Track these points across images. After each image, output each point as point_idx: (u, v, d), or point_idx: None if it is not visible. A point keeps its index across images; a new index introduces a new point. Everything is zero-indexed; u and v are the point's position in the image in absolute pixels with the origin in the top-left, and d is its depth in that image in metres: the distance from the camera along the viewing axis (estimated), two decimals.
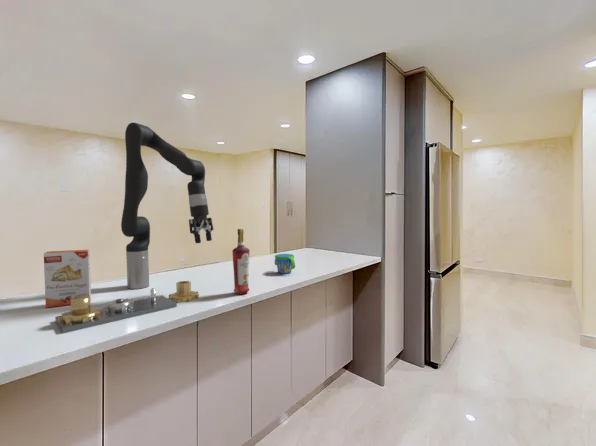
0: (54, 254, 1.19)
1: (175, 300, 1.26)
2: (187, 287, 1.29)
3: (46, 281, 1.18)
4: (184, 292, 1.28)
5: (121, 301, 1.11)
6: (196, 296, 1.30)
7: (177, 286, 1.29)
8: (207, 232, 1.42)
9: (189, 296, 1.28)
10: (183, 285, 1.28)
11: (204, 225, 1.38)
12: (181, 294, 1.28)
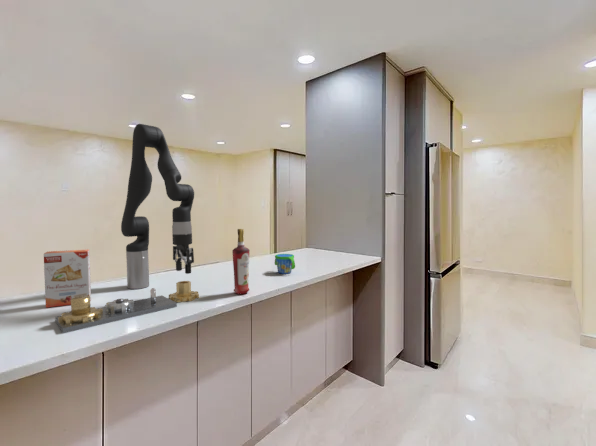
0: (54, 254, 1.19)
1: (175, 300, 1.26)
2: (187, 287, 1.29)
3: (46, 281, 1.18)
4: (184, 292, 1.28)
5: (121, 301, 1.11)
6: (196, 296, 1.30)
7: (177, 286, 1.29)
8: (178, 261, 1.33)
9: (189, 296, 1.28)
10: (183, 285, 1.28)
11: None
12: (181, 294, 1.28)
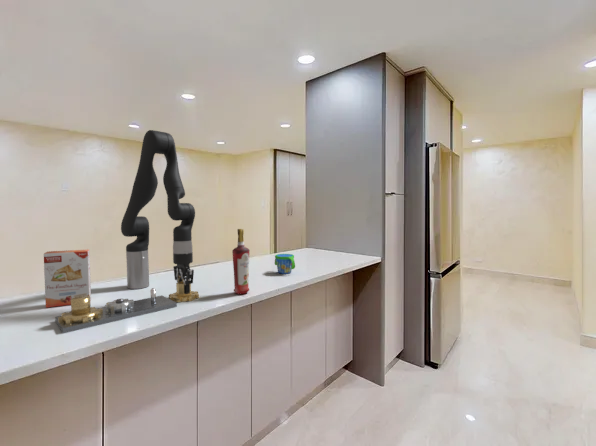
0: (54, 254, 1.19)
1: (175, 300, 1.26)
2: None
3: (46, 281, 1.18)
4: None
5: (121, 301, 1.11)
6: (196, 296, 1.30)
7: (177, 286, 1.29)
8: None
9: (189, 296, 1.28)
10: (183, 285, 1.28)
11: None
12: (181, 294, 1.28)
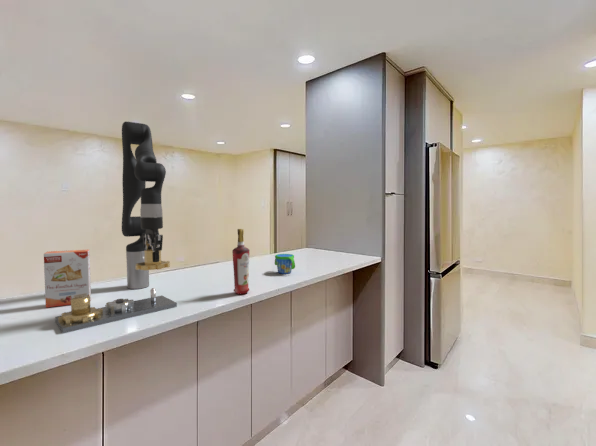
0: (54, 254, 1.19)
1: (142, 268, 1.15)
2: None
3: (46, 281, 1.18)
4: None
5: (121, 301, 1.11)
6: (166, 265, 1.19)
7: (145, 254, 1.17)
8: None
9: (158, 264, 1.16)
10: (151, 252, 1.17)
11: None
12: (149, 262, 1.17)
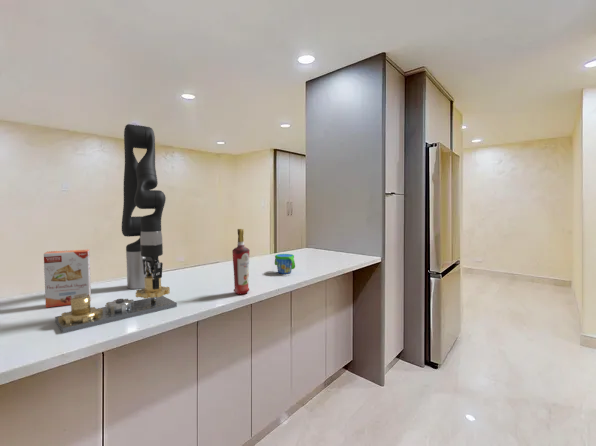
0: (54, 254, 1.19)
1: (142, 296, 1.15)
2: None
3: (46, 281, 1.18)
4: None
5: (121, 301, 1.11)
6: (166, 292, 1.19)
7: (145, 281, 1.18)
8: None
9: (158, 292, 1.17)
10: (151, 280, 1.17)
11: None
12: (149, 289, 1.17)
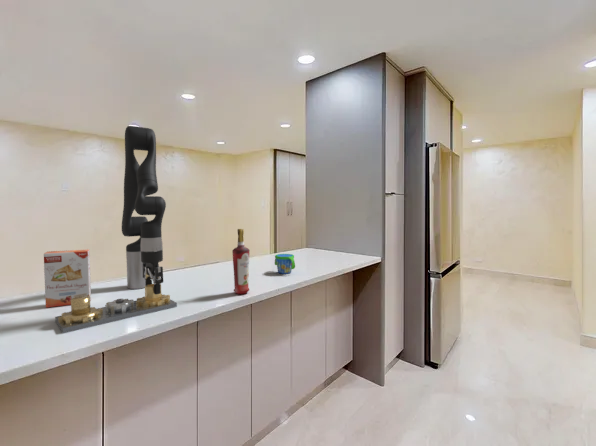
0: (54, 254, 1.19)
1: (142, 305, 1.15)
2: None
3: (46, 281, 1.18)
4: (153, 296, 1.18)
5: (121, 301, 1.11)
6: (166, 300, 1.19)
7: (145, 289, 1.18)
8: (148, 280, 1.22)
9: (158, 300, 1.17)
10: (152, 288, 1.17)
11: None
12: (150, 298, 1.17)
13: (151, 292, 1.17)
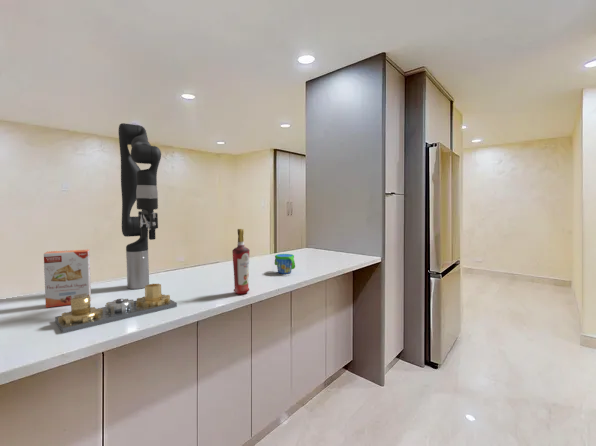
0: (54, 254, 1.19)
1: (142, 305, 1.15)
2: (156, 290, 1.18)
3: (46, 281, 1.18)
4: (153, 296, 1.18)
5: (121, 301, 1.11)
6: (166, 300, 1.19)
7: (145, 289, 1.18)
8: (143, 227, 1.27)
9: (158, 300, 1.17)
10: (152, 288, 1.17)
11: None
12: (150, 298, 1.17)
13: (151, 292, 1.17)
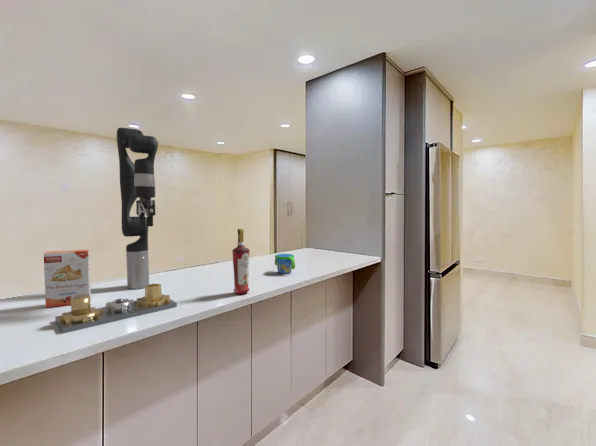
0: (54, 254, 1.19)
1: (142, 305, 1.15)
2: (156, 290, 1.18)
3: (46, 281, 1.18)
4: (153, 296, 1.18)
5: (121, 301, 1.11)
6: (166, 300, 1.19)
7: (145, 289, 1.18)
8: (141, 216, 1.30)
9: (158, 300, 1.17)
10: (152, 288, 1.17)
11: None
12: (150, 298, 1.17)
13: (151, 292, 1.17)
